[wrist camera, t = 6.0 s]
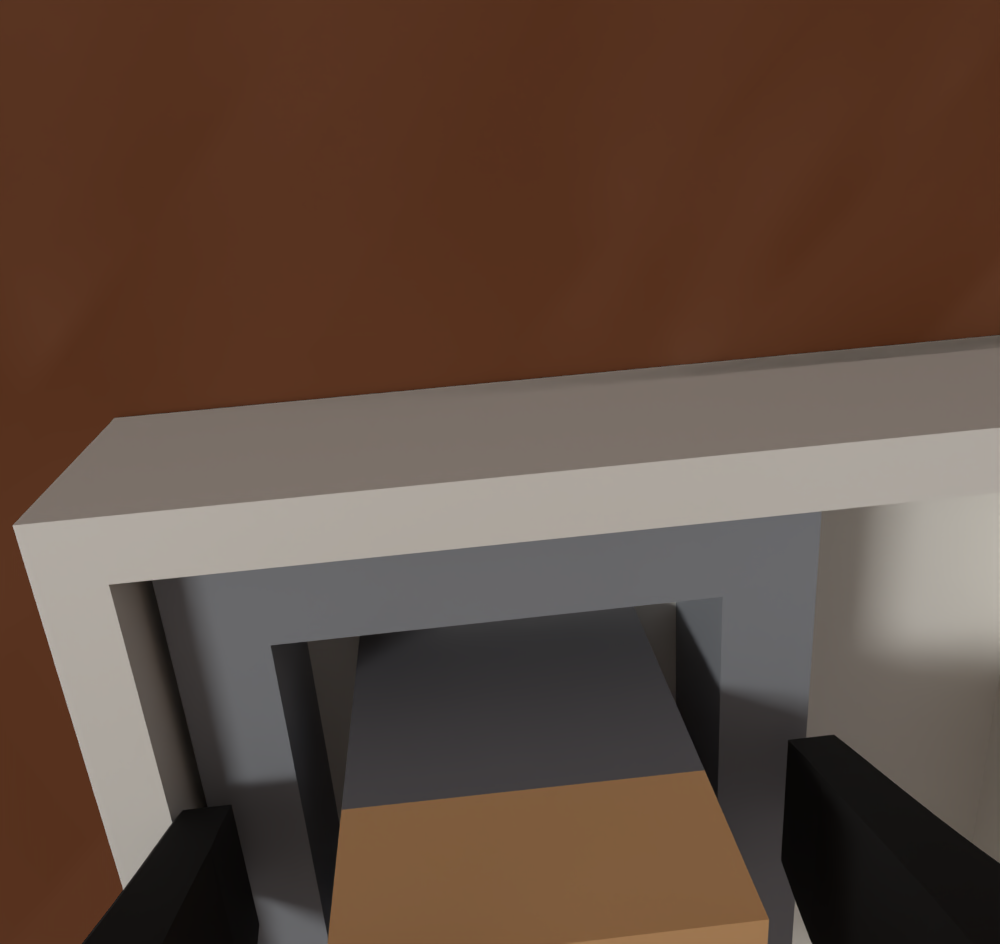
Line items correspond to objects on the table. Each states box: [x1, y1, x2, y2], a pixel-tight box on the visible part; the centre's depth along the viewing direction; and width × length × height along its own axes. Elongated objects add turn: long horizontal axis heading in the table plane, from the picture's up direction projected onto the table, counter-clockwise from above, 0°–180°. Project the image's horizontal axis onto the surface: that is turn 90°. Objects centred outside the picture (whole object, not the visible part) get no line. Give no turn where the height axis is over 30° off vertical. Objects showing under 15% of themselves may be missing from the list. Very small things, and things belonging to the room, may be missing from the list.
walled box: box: [13, 335, 1000, 944], centre depth 14 cm, size 14×12×4 cm
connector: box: [328, 606, 769, 944], centre depth 12 cm, size 4×4×6 cm
